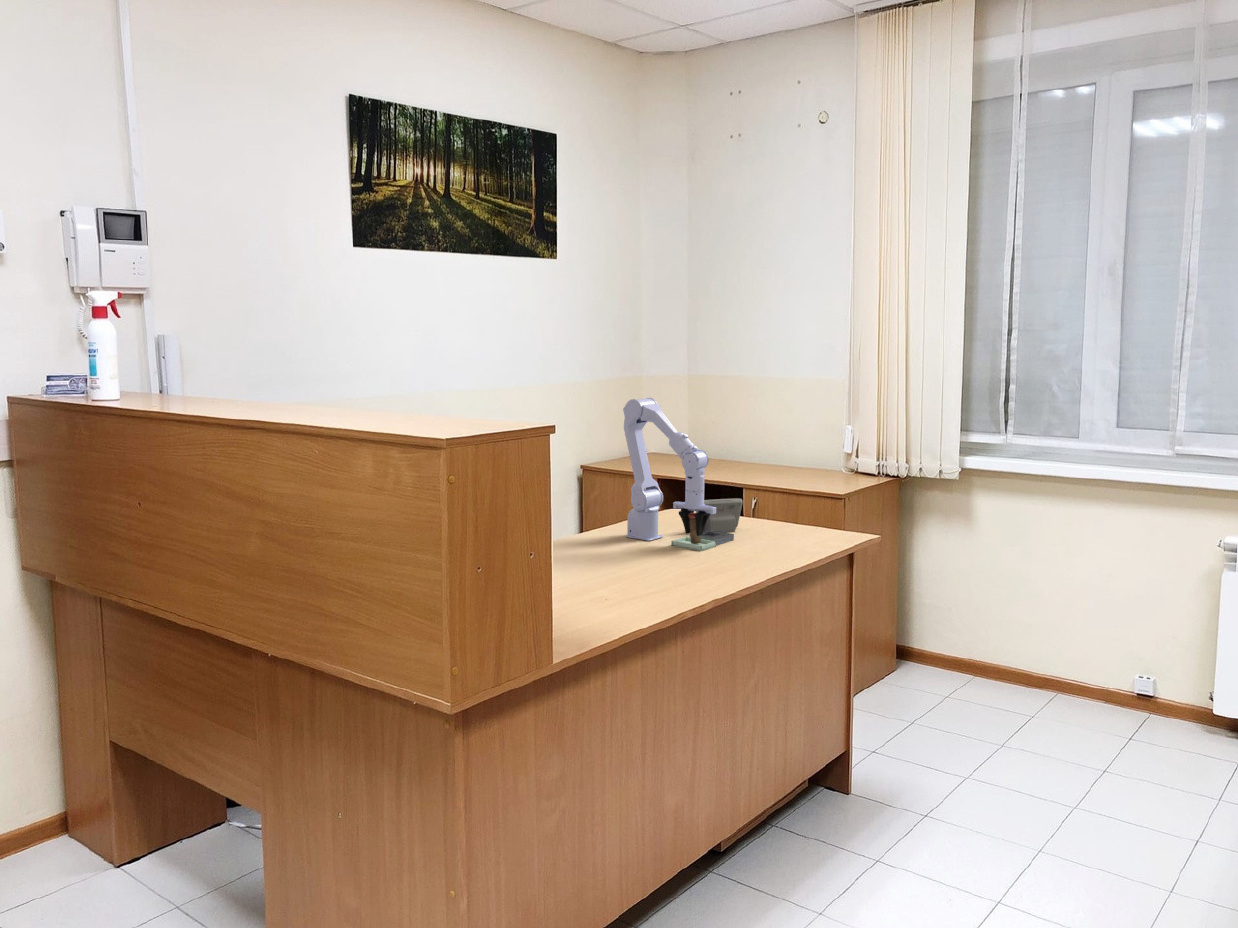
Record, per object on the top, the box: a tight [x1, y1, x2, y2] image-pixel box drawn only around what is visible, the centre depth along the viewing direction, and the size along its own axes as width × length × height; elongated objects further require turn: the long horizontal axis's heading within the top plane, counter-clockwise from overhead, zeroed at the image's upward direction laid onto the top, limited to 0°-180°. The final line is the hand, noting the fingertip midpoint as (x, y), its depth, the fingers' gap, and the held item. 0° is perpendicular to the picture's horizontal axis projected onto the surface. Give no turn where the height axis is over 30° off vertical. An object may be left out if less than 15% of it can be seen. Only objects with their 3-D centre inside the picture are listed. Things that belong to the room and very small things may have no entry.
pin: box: [688, 512, 701, 544], centre depth 302 cm, size 4×4×9 cm
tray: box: [671, 536, 717, 552], centre depth 303 cm, size 11×8×2 cm
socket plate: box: [701, 530, 735, 547], centre depth 310 cm, size 10×10×2 cm
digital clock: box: [695, 498, 743, 533], centre depth 325 cm, size 16×9×11 cm, turn 98°
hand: (693, 534), depth 302 cm, fingers closed on pin, 3 cm apart
